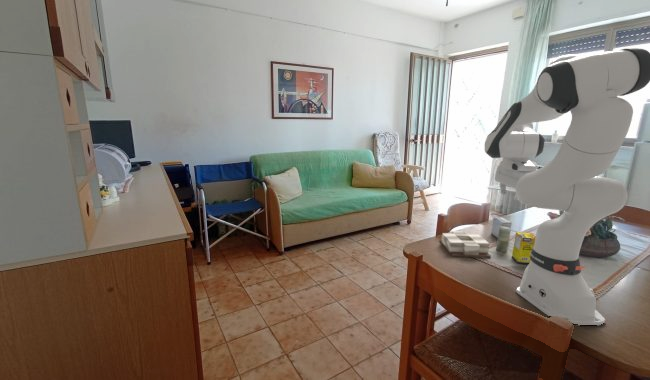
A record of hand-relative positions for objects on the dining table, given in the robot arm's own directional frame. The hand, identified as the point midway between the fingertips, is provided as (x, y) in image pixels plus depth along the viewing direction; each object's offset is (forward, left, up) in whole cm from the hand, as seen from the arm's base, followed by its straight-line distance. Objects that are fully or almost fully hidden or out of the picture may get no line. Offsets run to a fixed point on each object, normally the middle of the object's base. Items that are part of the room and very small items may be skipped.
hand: (509, 196), depth 122 cm
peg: (0, 0, -24) cm, 24 cm away
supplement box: (-10, -3, -24) cm, 26 cm away
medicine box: (+15, -7, -24) cm, 29 cm away
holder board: (0, +16, -24) cm, 28 cm away
